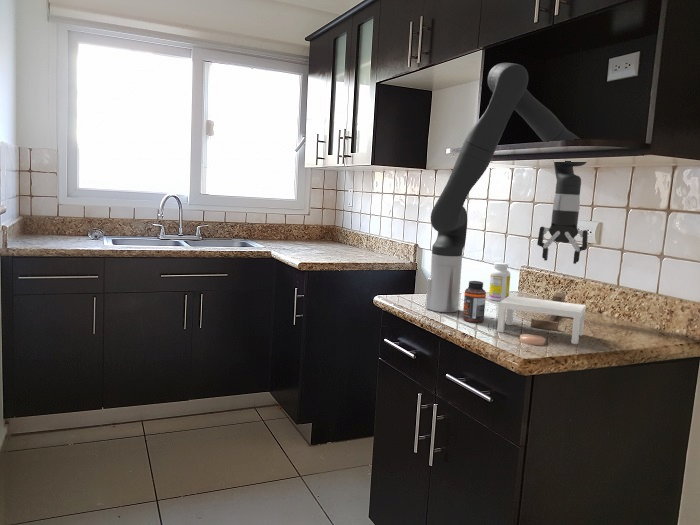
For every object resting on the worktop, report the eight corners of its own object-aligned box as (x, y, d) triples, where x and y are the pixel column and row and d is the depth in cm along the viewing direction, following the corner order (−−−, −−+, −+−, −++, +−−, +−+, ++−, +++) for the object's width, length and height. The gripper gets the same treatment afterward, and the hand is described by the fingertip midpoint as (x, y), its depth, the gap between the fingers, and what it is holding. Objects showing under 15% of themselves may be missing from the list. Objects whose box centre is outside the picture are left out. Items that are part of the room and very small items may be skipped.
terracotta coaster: (542, 347, 136) (542, 341, 136) (517, 343, 139) (517, 337, 139) (547, 342, 141) (547, 336, 141) (522, 338, 144) (523, 333, 144)
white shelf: (496, 331, 149) (499, 302, 148) (507, 323, 160) (509, 295, 159) (577, 344, 140) (580, 312, 139) (582, 334, 150) (585, 305, 149)
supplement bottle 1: (458, 318, 163) (461, 280, 162) (476, 318, 165) (479, 280, 163) (469, 323, 157) (472, 283, 156) (487, 322, 159) (490, 283, 158)
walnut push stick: (530, 326, 157) (532, 305, 156) (547, 309, 182) (549, 291, 181) (557, 330, 153) (559, 309, 153) (570, 312, 179) (572, 294, 178)
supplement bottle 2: (503, 298, 200) (506, 262, 198) (511, 301, 194) (514, 264, 192) (485, 297, 199) (488, 261, 197) (493, 301, 193) (496, 264, 191)
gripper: (539, 207, 171) (534, 260, 174) (589, 211, 165) (583, 265, 167) (543, 207, 178) (538, 258, 180) (591, 210, 172) (585, 263, 174)
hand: (560, 261), depth 174 cm, fingers open, 8 cm apart
